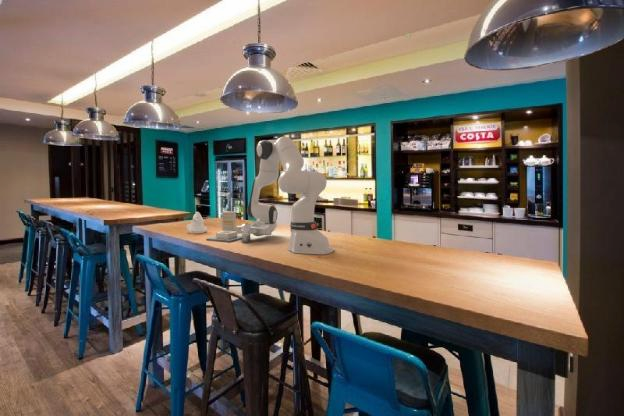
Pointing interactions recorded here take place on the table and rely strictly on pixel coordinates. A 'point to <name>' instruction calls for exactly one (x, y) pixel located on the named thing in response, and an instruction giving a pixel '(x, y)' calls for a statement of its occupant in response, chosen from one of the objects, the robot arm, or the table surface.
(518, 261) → the table surface
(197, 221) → the soft serve ice cream
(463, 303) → the table surface
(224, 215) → the supplement box
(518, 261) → the table surface
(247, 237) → the battery cell
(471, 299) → the table surface
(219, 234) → the socket board
